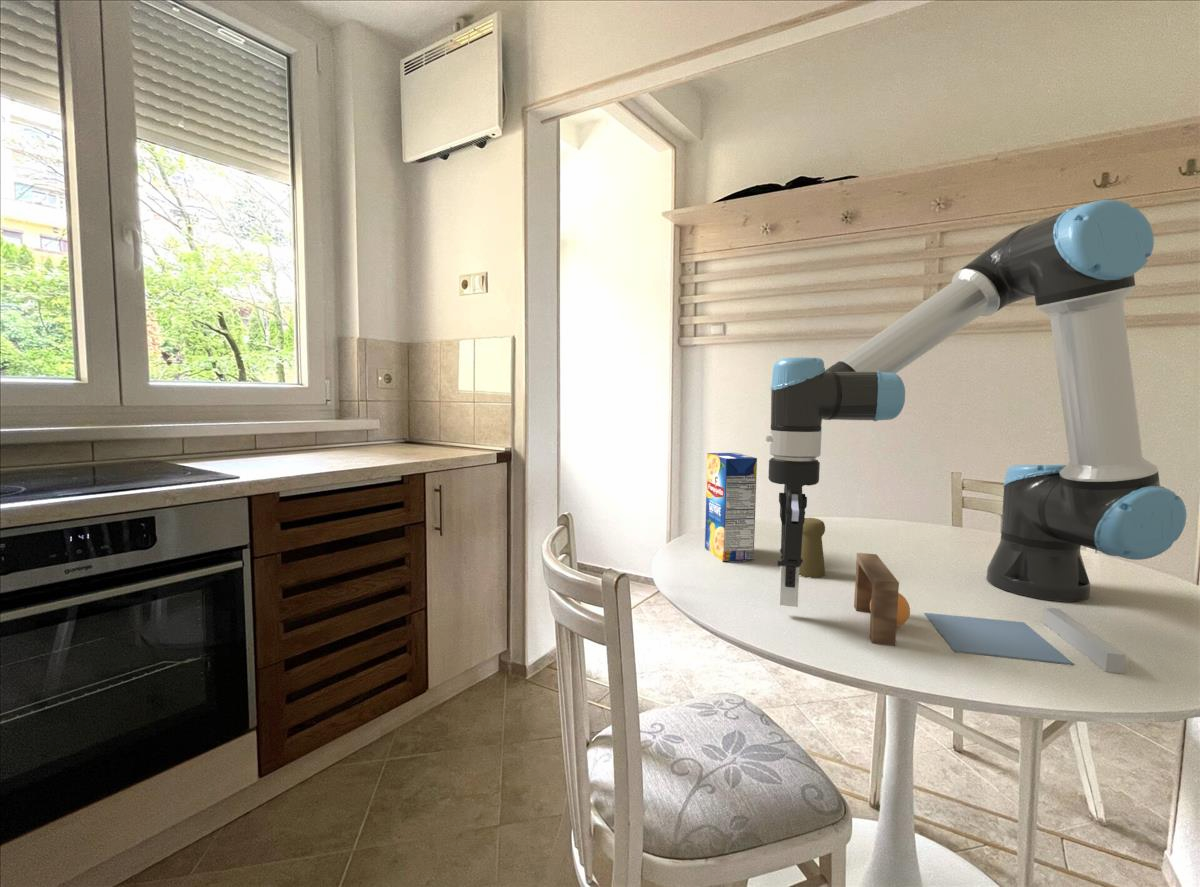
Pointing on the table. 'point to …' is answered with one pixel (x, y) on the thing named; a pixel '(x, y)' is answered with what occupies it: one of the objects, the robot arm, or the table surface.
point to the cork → (812, 549)
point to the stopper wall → (1085, 641)
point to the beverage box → (730, 506)
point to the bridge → (877, 597)
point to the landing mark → (995, 638)
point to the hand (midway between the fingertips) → (788, 604)
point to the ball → (901, 610)
